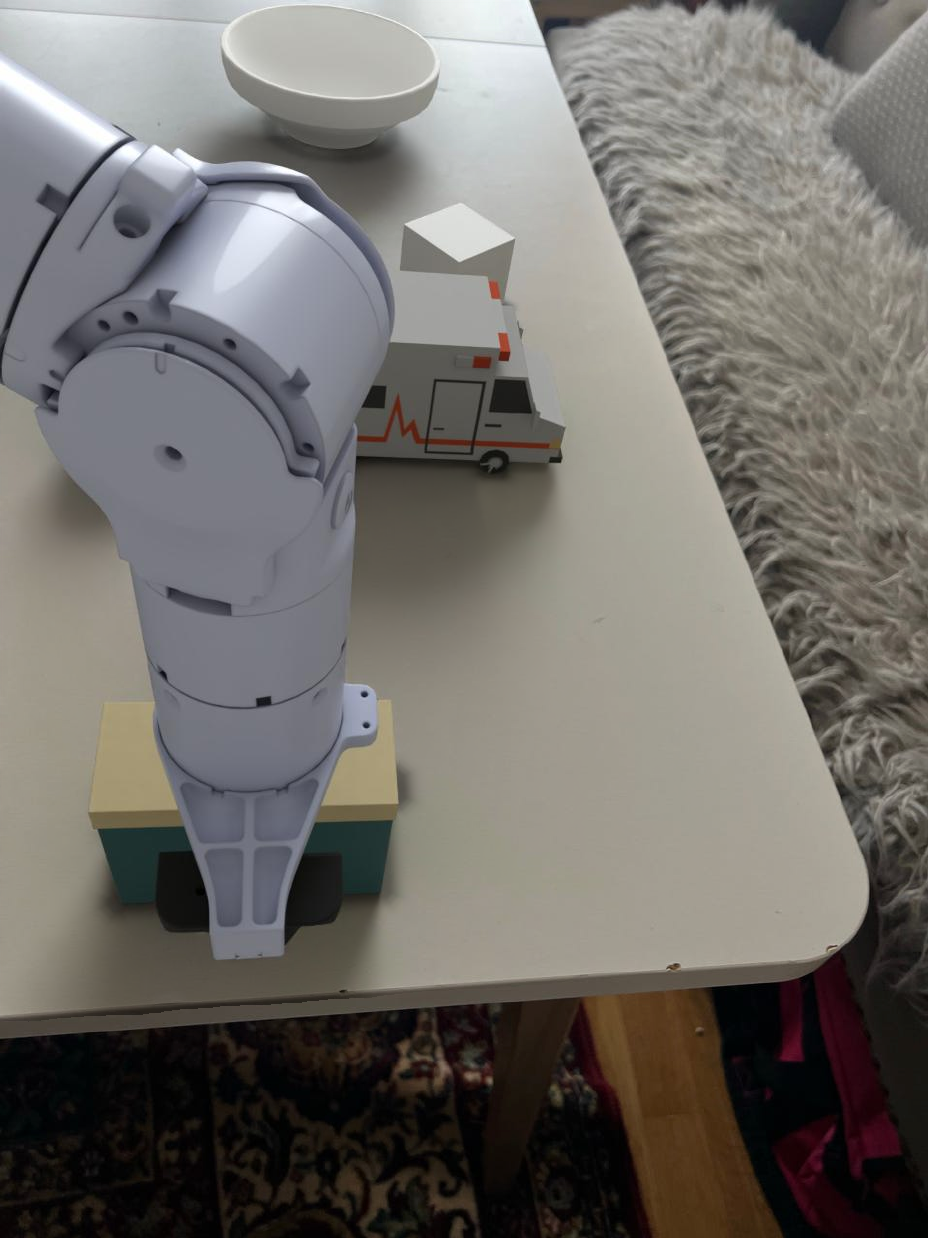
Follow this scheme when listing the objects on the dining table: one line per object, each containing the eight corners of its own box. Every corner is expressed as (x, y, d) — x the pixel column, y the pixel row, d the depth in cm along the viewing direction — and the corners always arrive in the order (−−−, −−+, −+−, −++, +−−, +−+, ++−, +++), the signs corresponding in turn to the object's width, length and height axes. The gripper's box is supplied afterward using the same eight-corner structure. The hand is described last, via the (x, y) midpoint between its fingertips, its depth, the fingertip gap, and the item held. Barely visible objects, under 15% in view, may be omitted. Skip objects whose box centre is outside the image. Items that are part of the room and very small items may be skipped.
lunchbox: (118, 906, 46) (87, 812, 39) (129, 805, 50) (103, 702, 43) (383, 895, 48) (398, 804, 41) (378, 799, 52) (391, 699, 45)
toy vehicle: (560, 484, 68) (594, 363, 61) (302, 475, 66) (303, 347, 58) (541, 394, 74) (569, 273, 67) (303, 382, 72) (304, 255, 64)
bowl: (467, 169, 94) (477, 90, 89) (265, 192, 87) (263, 108, 81) (384, 74, 104) (389, -2, 99) (197, 88, 97) (191, 7, 91)
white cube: (502, 306, 81) (515, 238, 76) (449, 332, 78) (459, 262, 73) (451, 270, 83) (460, 201, 78) (397, 293, 80) (403, 223, 75)
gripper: (405, 855, 25) (372, 1028, 35) (373, 456, 34) (354, 688, 44) (107, 868, 24) (164, 1043, 34) (156, 450, 33) (189, 690, 43)
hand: (259, 843), depth 39 cm, fingers open, 7 cm apart
